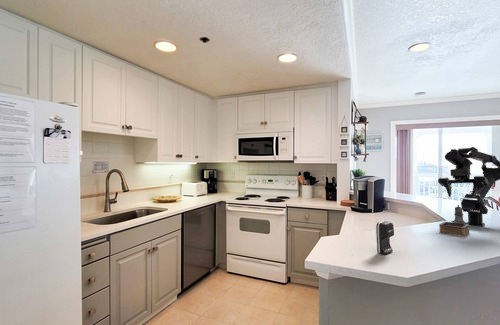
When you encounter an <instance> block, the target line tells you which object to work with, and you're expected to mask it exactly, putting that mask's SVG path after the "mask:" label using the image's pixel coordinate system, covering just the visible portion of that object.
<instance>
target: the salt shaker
mask: <svg viewBox="0 0 500 325" xmlns="http://www.w3.org/2000/svg"><path fill="white" fill-rule="evenodd" d="M450 222H454V223H461V224H466V223H467V222H468V221H465V220H464V212H463V210H462V206H460V204H457V206H455V207H454V219H453V220H451V221H450Z"/></svg>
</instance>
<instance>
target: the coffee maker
mask: <svg viewBox="0 0 500 325" xmlns="http://www.w3.org/2000/svg"><path fill="white" fill-rule="evenodd" d="M375 226H376V227H375V231H376V233H375V234H376V252H377V253H378V254H380V255H381V254H382V255H388V254H390V253H392V252H393V251H394V250H393V248H392V246H391V241H390V239H391V238H392V237H394V236H395V230H394V224H393V222H390V221H386V220H381V221H379V222H377V223H376V225H375Z"/></svg>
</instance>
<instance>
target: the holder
mask: <svg viewBox="0 0 500 325" xmlns="http://www.w3.org/2000/svg"><path fill="white" fill-rule="evenodd" d="M439 233H440V234H447V235H448V234H449V235H453V236H460V237H466V236H467V235H468V234H470V224H461V223H454V222H451V221H443V222H440V223H439Z"/></svg>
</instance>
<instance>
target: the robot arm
mask: <svg viewBox="0 0 500 325" xmlns="http://www.w3.org/2000/svg"><path fill="white" fill-rule="evenodd" d="M444 160H446V161H448V162H449V163H451V164H452V165H453V166H455V168H453V169H452V168H451V169H450V171H449V172H450V176H451V177H452V178H453V179H450V178H449V177H447V176H446V177H439V178H438V179H437V184H439V185H440V186H441V187H444V188H445V189H446V193H447V195H448V197H449V198H451V196H452V190H453V189H452V184H472V191H471V193H466V194H465V195H464V197H463V198H462V200H461V202H460V205H461V206H460V207H461V208H462V213H467V221H466V222H467V223H466V224H469V226H470V225H471V226H478V227H479V226H481V227H484V226H485V225H486V223H485V222H484V220H483V215H487V214H488V211H489V210H488V208H487V206H486V204H485V201H484V199H485V197H486V196H487V195H488V193H489V192H490V190H491V188H492V187H493V185H494V184H495V182H497V181H499V180H500V160H498V159H497V157H496V156H495V155H494V154H488V153H485V152H481V151H479V149H478V148H476V147H475V146H465V147H464V146H463V147H458V148H457V149H456V148H451V149H450V151H448V152H446V154H444ZM472 160H475V161H479V162H481V163H482V164H481V167H480V169H481V170H482V175H475V176H473V178H471V175H472V172H471V165H473V162H472ZM487 163H488V164H489V163H492V164H493V165H494V166H493V165H492V166H487V165H486V164H487Z"/></svg>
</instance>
